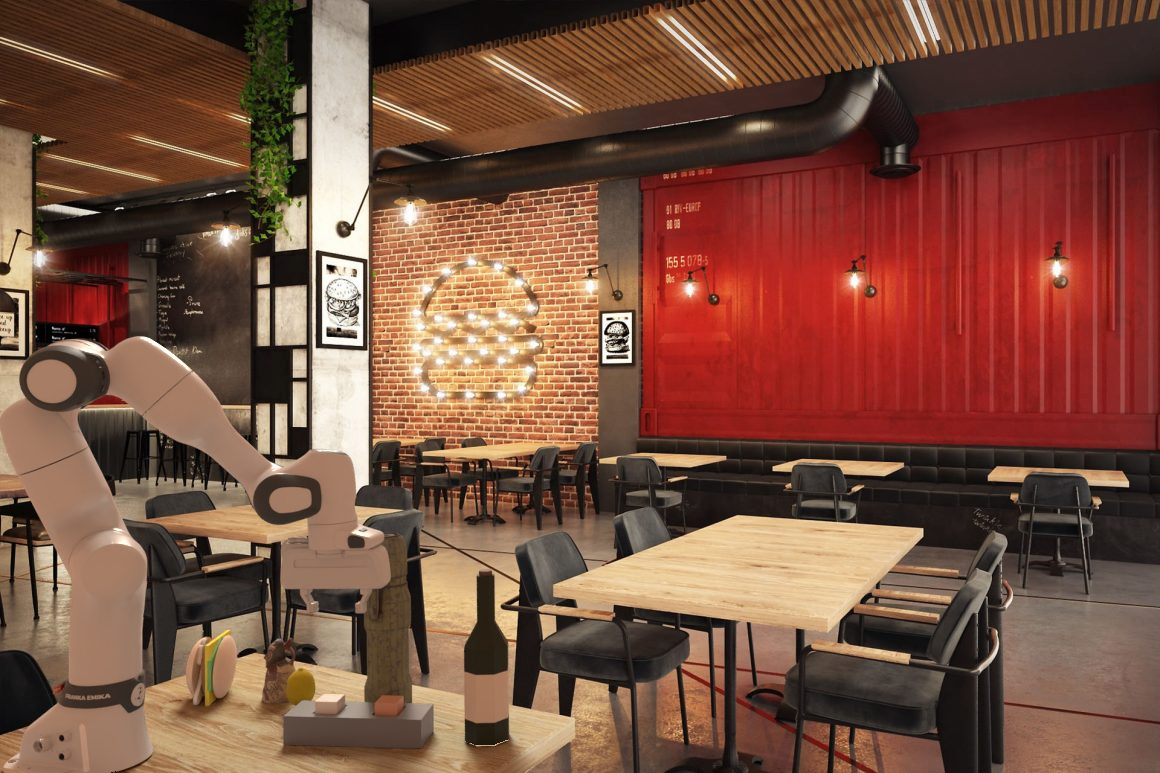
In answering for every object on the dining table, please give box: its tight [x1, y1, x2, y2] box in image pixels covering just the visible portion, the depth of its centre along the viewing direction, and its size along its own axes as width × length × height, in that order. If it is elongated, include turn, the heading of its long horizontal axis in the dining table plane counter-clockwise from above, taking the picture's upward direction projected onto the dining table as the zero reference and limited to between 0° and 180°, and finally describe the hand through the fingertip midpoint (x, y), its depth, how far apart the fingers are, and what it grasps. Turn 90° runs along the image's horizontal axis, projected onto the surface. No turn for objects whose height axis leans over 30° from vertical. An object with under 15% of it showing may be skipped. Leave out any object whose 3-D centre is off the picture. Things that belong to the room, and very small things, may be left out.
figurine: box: [261, 637, 296, 704], centre depth 177 cm, size 7×7×12 cm
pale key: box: [314, 693, 346, 714], centre depth 156 cm, size 4×4×4 cm
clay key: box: [375, 695, 404, 716], centre depth 155 cm, size 4×4×4 cm
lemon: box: [286, 667, 316, 707], centre depth 170 cm, size 6×6×8 cm
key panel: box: [282, 700, 435, 749], centre depth 155 cm, size 25×8×5 cm, turn 84°
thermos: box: [363, 532, 413, 703], centre depth 165 cm, size 9×12×35 cm
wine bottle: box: [463, 568, 510, 745], centre depth 155 cm, size 8×8×30 cm
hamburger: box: [185, 629, 238, 707], centre depth 179 cm, size 12×8×12 cm
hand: (337, 612), depth 157 cm, fingers open, 8 cm apart
